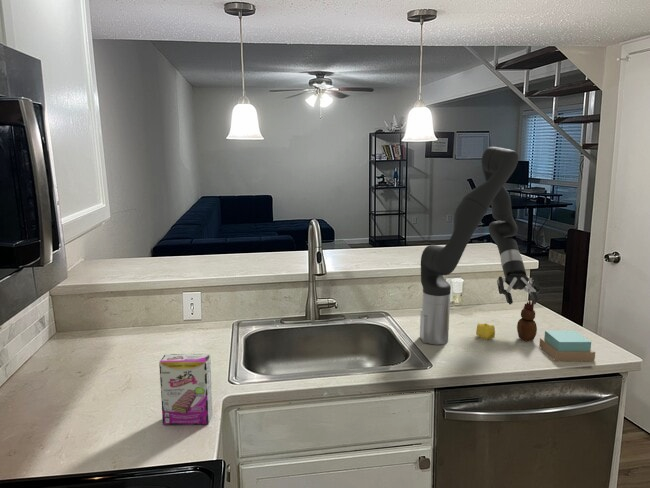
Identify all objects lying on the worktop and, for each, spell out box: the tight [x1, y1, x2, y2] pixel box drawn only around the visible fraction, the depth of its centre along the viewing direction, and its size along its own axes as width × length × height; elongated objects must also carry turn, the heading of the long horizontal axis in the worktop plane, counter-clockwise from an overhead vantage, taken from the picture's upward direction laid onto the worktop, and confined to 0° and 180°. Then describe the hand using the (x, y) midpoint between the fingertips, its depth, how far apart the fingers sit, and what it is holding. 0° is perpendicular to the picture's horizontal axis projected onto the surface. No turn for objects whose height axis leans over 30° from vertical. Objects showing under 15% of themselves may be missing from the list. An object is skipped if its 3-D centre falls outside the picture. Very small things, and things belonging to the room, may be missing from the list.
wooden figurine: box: [516, 299, 538, 343], centre depth 168 cm, size 7×6×15 cm
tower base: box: [538, 330, 596, 362], centre depth 157 cm, size 12×12×6 cm
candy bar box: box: [158, 353, 213, 426], centre depth 117 cm, size 11×5×16 cm, turn 92°
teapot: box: [475, 323, 496, 341], centre depth 171 cm, size 8×6×5 cm
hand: (523, 303), depth 172 cm, fingers open, 8 cm apart
